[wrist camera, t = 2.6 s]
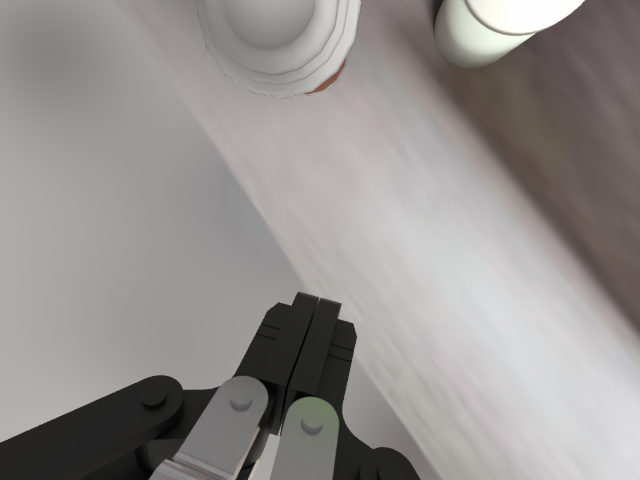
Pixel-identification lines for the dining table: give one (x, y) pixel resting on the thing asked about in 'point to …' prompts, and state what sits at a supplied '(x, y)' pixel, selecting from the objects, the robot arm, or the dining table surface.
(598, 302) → the dining table surface
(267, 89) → the coffee cup
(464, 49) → the canister
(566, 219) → the dining table surface
